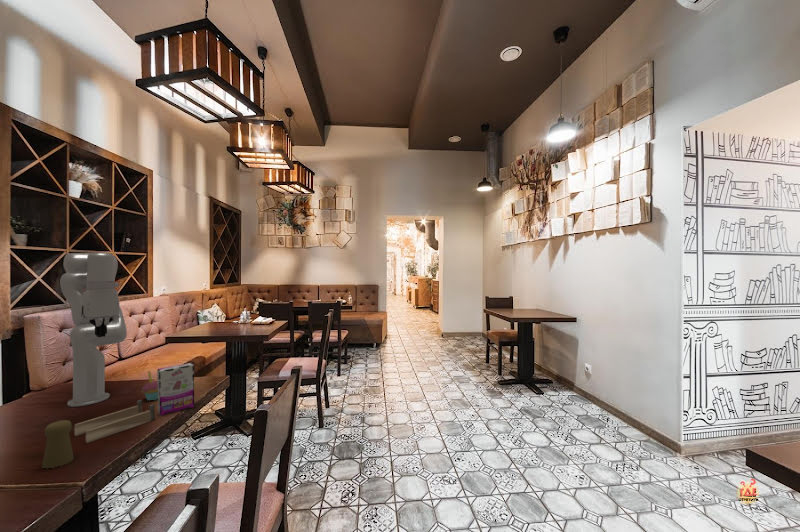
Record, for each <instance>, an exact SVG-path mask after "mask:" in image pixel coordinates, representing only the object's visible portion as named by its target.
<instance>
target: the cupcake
mask: <svg viewBox="0 0 800 532" xmlns="http://www.w3.org/2000/svg"><path fill="white" fill-rule="evenodd" d="M148 378H149V382H148V383H146V384H144V385H143V387H141V393H142V394H144V396H145V397H146V400H147V401H148V400H149V401H148V402H151V401H150V400H154V401H158V400H157V399H158V380H155V381H153V380H152V374H151V372H150V371H149V370H148Z"/></svg>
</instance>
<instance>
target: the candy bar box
mask: <svg viewBox="0 0 800 532" xmlns="http://www.w3.org/2000/svg"><path fill="white" fill-rule="evenodd" d="M156 373H157V375H156V376H157V381H158V400H157V413H158V414H159V416H165V415H170V414H173V413H177V412H180V411H184V410H187V409H191V408H195V405H196V404H195V403H196V402H195V364H193V363H192V362H189V363H183V364H177V365H172V366H166V367H161V368H157V371H156Z"/></svg>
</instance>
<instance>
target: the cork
mask: <svg viewBox="0 0 800 532" xmlns="http://www.w3.org/2000/svg"><path fill="white" fill-rule="evenodd" d="M72 427H73V425H72V422H71V421H70V420H68V419H67V420H66V419H64V420H63V419H62V420H57V421H55V422H51V423H49V424H48V425H47V426H45V428H44V435H45V437H46V444H45V448H44V453H43V454H44V455H43V460H42V465H41V469H42V468H47V469H46V470H49V469H48V468H52V469H56V468H55V467H57V468H59V467H58V466H60V467H62V465H63V466H65V465H68V464H69V463H71V462H72V461H73V460H74V453H73V448H72V443H71V436H70V431H71V430H72ZM64 464H65V465H64Z"/></svg>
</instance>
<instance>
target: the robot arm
mask: <svg viewBox="0 0 800 532" xmlns="http://www.w3.org/2000/svg"><path fill="white" fill-rule="evenodd" d="M118 264H119V263H118V259H117V258H116V256H115V255H114V254H113V253H110V252H109V253H108V252H106V253H105V252H78V253H77V252H71V253H70V252H69V253H67V254H65V256H64V257H63V270H65V273H62V275H61V277H60V279H59V281H60V282H59V284H60V286H59V287H60V290H61V293H62V294H63V296H64V298H65V299H66V301H67V302H68V304H69V305H70V313H71V319H72V321H73V324H74V326H75V327H73V328H72V329H71V331H70V333H69V339H70V345H71V349H72V399H69V400H68V401H67V404H66V405H67V406H68V407H72V408H73V407H74V408H75V407H84V406H89V405H93V404H97V403H101V402H103V401H106V400H108V399H109V398H110V395H111V394H110V393H108V392H105V390H106V389H105V386H106V385H105V381H106V376H105V375H106V372H105V371H106V368H105V367H106V358H105V354H104V353H103V352H102V351H101V350H99V349H98V348H97V347H102V346H105V345H106V346H108V345H113V344H116V345H117V344H119V343H122V342H124V341H125V340H126V339H127V336H128V331H127V327H126V322H125V318H124V317H125V316H124V315H123V314H124V313H123V310H122V308H121V305H120V298H119V294H118V290H117V289H116V287H118V288H119V287H120V283H119V282H116V281H115V280H116V275H117V272H118V268H119V267H118V266H119V265H118Z"/></svg>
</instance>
